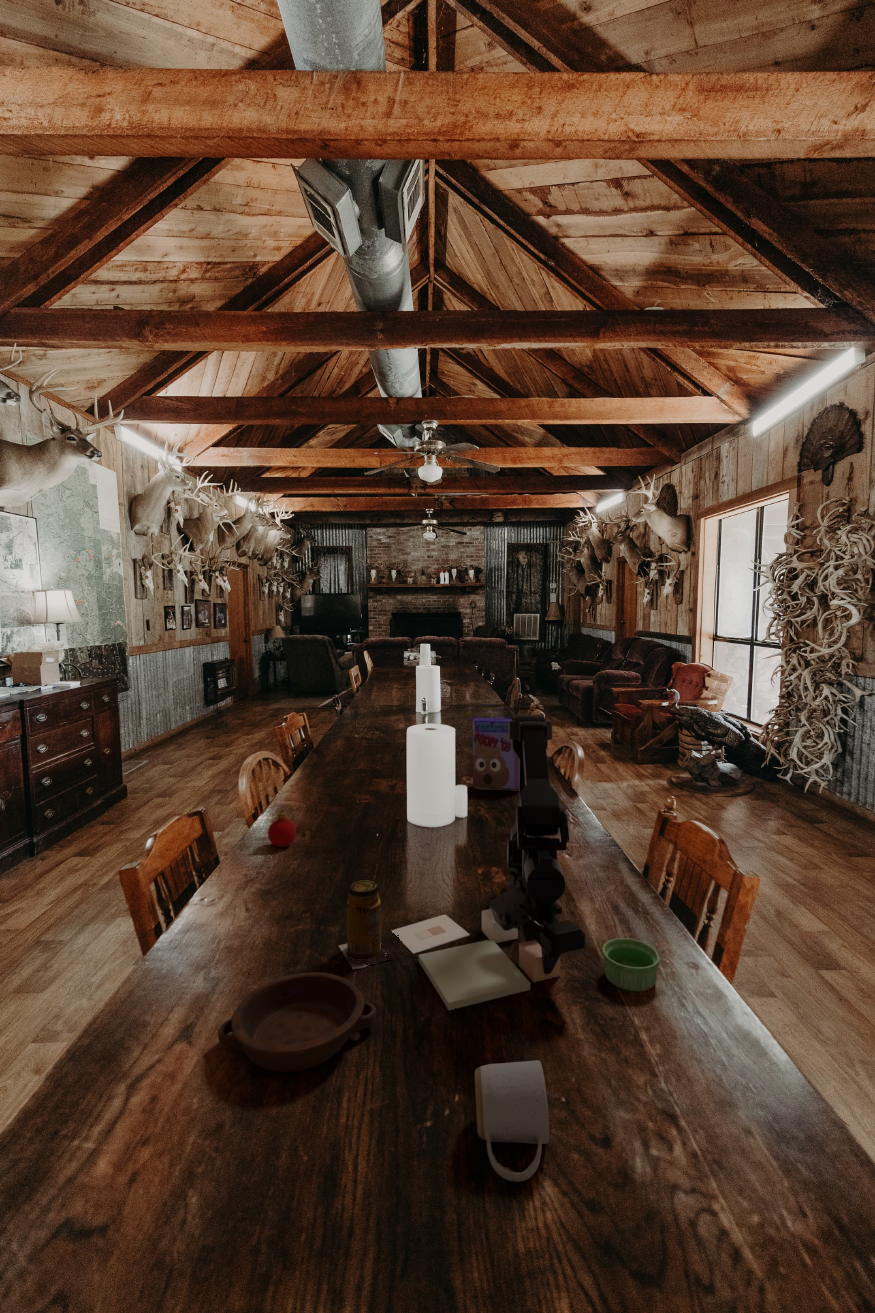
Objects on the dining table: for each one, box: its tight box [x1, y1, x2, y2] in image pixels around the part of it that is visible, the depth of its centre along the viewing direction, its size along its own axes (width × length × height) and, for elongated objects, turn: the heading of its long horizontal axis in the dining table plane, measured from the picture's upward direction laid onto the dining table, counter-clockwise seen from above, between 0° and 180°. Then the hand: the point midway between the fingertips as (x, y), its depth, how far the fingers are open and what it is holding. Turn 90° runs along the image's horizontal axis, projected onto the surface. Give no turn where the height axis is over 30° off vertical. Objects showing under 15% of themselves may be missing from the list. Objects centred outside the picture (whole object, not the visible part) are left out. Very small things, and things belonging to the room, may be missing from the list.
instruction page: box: [391, 914, 471, 955], centre depth 115 cm, size 12×9×1 cm
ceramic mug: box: [474, 1060, 550, 1183], centre depth 69 cm, size 11×8×8 cm
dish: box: [217, 971, 377, 1073], centre depth 87 cm, size 17×22×5 cm
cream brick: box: [481, 908, 519, 944], centre depth 114 cm, size 5×5×4 cm
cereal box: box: [472, 717, 519, 789], centre depth 208 cm, size 17×5×24 cm, turn 81°
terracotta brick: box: [518, 940, 561, 983], centre depth 103 cm, size 5×5×4 cm
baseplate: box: [418, 939, 531, 1011], centre depth 102 cm, size 14×14×1 cm
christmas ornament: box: [267, 807, 297, 848], centre depth 159 cm, size 7×7×10 cm
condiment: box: [338, 879, 387, 970], centre depth 108 cm, size 7×8×12 cm
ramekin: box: [602, 937, 660, 993], centre depth 101 cm, size 9×9×4 cm
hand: (539, 964), depth 103 cm, fingers closed on terracotta brick, 5 cm apart
